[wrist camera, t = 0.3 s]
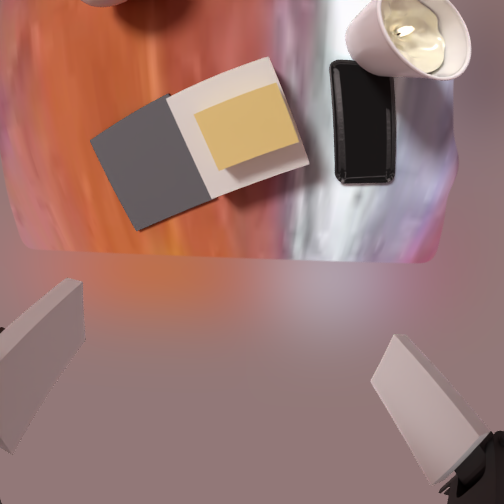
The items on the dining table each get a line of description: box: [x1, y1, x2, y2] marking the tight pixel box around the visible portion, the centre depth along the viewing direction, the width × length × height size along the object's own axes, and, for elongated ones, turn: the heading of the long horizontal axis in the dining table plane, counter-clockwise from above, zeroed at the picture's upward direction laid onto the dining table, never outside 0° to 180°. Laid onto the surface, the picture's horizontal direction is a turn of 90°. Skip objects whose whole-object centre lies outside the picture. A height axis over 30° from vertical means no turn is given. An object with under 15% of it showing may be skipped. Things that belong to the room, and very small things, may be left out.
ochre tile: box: [194, 83, 299, 171], centre depth 25 cm, size 8×6×2 cm
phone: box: [329, 60, 396, 183], centre depth 29 cm, size 8×1×15 cm
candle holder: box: [345, 0, 471, 81], centre depth 19 cm, size 10×10×12 cm
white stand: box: [166, 57, 310, 199], centre depth 28 cm, size 11×12×4 cm
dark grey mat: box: [90, 94, 215, 231], centre depth 32 cm, size 12×14×1 cm
